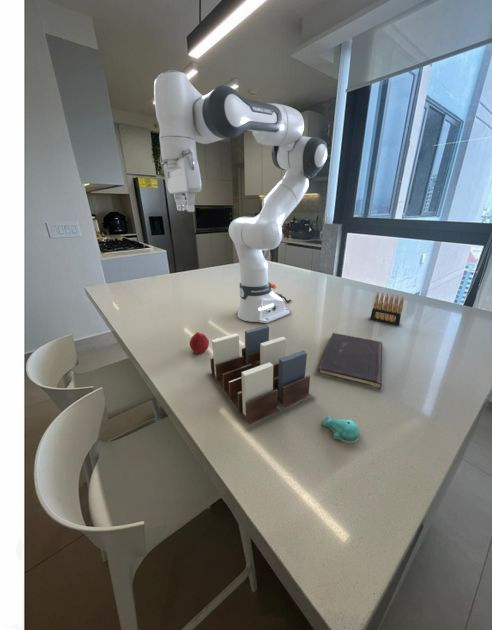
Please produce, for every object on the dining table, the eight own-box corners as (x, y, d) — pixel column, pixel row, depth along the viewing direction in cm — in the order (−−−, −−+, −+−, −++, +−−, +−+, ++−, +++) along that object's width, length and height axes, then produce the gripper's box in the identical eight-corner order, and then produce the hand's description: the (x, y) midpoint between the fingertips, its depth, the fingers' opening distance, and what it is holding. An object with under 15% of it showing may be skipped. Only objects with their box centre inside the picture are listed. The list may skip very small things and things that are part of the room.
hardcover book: (318, 375, 72) (318, 368, 71) (332, 338, 92) (332, 332, 91) (380, 390, 66) (382, 383, 66) (381, 348, 86) (382, 341, 85)
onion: (213, 350, 84) (211, 328, 81) (203, 360, 79) (201, 336, 76) (197, 347, 86) (194, 325, 83) (187, 356, 81) (184, 333, 78)
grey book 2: (300, 387, 66) (303, 350, 62) (303, 390, 65) (307, 353, 60) (277, 397, 63) (278, 358, 58) (281, 401, 62) (282, 361, 57)
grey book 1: (265, 357, 79) (266, 325, 74) (268, 360, 77) (269, 327, 73) (245, 364, 75) (244, 330, 71) (248, 367, 74) (247, 333, 70)
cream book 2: (268, 401, 61) (269, 362, 57) (272, 405, 60) (273, 365, 56) (242, 412, 58) (241, 372, 54) (246, 417, 57) (244, 375, 53)
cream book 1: (237, 367, 74) (236, 333, 70) (240, 370, 73) (239, 335, 68) (214, 375, 71) (211, 339, 66) (217, 378, 69) (214, 342, 65)
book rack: (263, 356, 81) (263, 339, 78) (311, 398, 64) (313, 378, 61) (210, 374, 72) (208, 356, 70) (249, 428, 55) (248, 406, 53)
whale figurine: (350, 452, 50) (353, 438, 48) (317, 432, 54) (318, 418, 53) (362, 434, 54) (365, 420, 52) (330, 416, 58) (332, 403, 57)
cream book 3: (281, 371, 72) (282, 336, 68) (284, 374, 71) (286, 338, 67) (260, 379, 69) (260, 343, 64) (263, 382, 68) (263, 346, 63)
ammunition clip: (369, 319, 106) (375, 291, 102) (370, 318, 108) (376, 290, 103) (398, 326, 101) (405, 297, 96) (399, 324, 102) (406, 295, 97)
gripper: (205, 148, 60) (209, 212, 66) (180, 159, 77) (186, 210, 82) (177, 145, 57) (185, 212, 63) (158, 157, 74) (165, 210, 79)
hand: (185, 211), depth 73 cm, fingers open, 8 cm apart
